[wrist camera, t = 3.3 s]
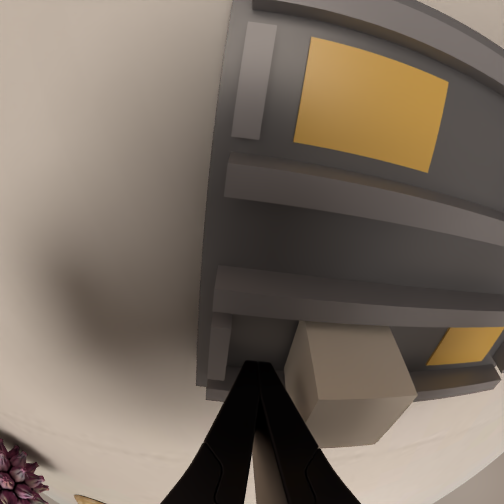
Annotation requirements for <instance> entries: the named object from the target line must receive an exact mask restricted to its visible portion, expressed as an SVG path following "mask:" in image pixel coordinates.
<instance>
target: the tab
mask: <svg viewBox="0 0 504 504" xmlns="http://www.w3.org/2000/svg"><path fill="white" fill-rule="evenodd" d="M284 375H285V387H286V390H287V392H288V394H289V396H290V397H291V399H292V401H293V403H294V404H295V406H296V408H297V410H298V411H299V413H300V415H301V417H302V418H303V420H304V422H305V424H306V425H307V427H308V429H309V430H310V432H311V434H312V436H313V437H314V439H315V441H316V442H317V444H318V446H319V447H318V448H336V447H351V446H362V445H372V444H375V443H376V442H377V441H378V440H379V439H380V438H381V437H382V436H383V435H384V434H385V433H386V432H387V431H388V430H389V428H390V427H391V426H392V425H393V424H394V423H395V422H396V421H397V419H398V418H399V417H400V416H401V415H402V414H403V413H404V411H405V410H406V409H407V408H408V407H409V405H410V404H411V403H412V402H413V400H414V399H415V398H416V397H417V396H418V394H417V392H416V389H415V387H414V384H413V382H412V379H411V377H410V374H409V372H408V369H407V367H406V364H405V362H404V360H403V357H402V355H401V353H400V350H399V348H398V346H397V343H396V341H395V339H394V337H393V334H392V332H391V330H390V328H389V326H376V325H357V324H340V323H325V322H312V321H300V320H299V324H298V327H297V330H296V333H295V336H294V339H293V342H292V345H291V348H290V352H289V355H288V358H287V361H286V363H285V366H284Z"/></svg>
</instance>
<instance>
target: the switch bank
mask: <svg viewBox="0 0 504 504" xmlns="http://www.w3.org/2000/svg"><path fill="white" fill-rule="evenodd" d="M299 320H300V321H312V322H325V323H340V324H357V325H376V326H389V328H390V330H391V332H392V334H393V337H394V339H395V341H396V343H397V346H398V348H399V350H400V353H401V355H402V357H403V360H404V362H405V364H406V367H407V369H408V372H409V374H410V377H411V379H412V382H413V384H414V387H415V389H416V392H417V394H418V396H417V397H416V398H415V399H414V400H413V402H417V401H426V400H434V399H441V398H448V397H454V396H460V395H466V394H471V393H477V392H482V391H487V390H491V389H494V388H495V386H496V385H497V384H498V383H499V382H500V380H501V378H500V376H499V375H498V373H497V371H496V369H495V368H494V367H495V366H496V365H497V367H498V368H499V370H500V372H501V373H504V49H503V48H501V47H500V46H498V45H497V44H495V43H494V42H492V41H491V40H489V39H487V38H486V37H484V36H483V35H481V34H479V33H478V32H476V31H474V30H473V29H471V28H469V27H468V26H466V25H464V24H462V23H461V22H459V21H457V20H455V19H453V18H451V17H449V16H447V15H445V14H444V13H442V12H440V11H438V10H435V9H433V8H431V7H429V6H427V5H425V4H423V3H420V2H418V1H416V0H233V2H232V8H231V14H230V20H229V26H228V32H227V38H226V45H225V51H224V58H223V65H222V72H221V79H220V86H219V94H218V101H217V109H216V117H215V125H214V134H213V143H212V152H211V161H210V171H209V181H208V191H207V202H206V213H205V225H204V238H203V251H202V266H201V281H200V299H199V318H198V341H197V370H196V386H203V387H207V388H206V400H212V401H221V402H224V401H225V399H226V397H227V395H228V393H229V391H230V389H231V387H232V385H233V383H234V381H235V379H236V377H237V375H238V373H239V371H240V369H241V367H242V365H243V363H244V361H245V360H254V361H265V362H270V363H271V364H272V365H273V367H274V369H275V371H276V373H277V374H278V376H279V378H280V380H281V382H282V383H283V385H284V387H285V375H284V366H285V363H286V361H287V358H288V355H289V352H290V348H291V345H292V342H293V339H294V336H295V333H296V330H297V327H298V324H299ZM285 389H286V387H285Z"/></svg>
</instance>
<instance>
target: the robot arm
mask: <svg viewBox="0 0 504 504" xmlns="http://www.w3.org/2000/svg"><path fill="white" fill-rule="evenodd" d="M318 447H319V446H318V444H317V442H316V441H315V439H314V437H313V436H312V434H311V432H310V430H309V429H308V427H307V425H306V424H305V422H304V420H303V418H302V417H301V415H300V413H299V411H298V410H297V408H296V406H295V404H294V403H293V401H292V399H291V397H290V396H289V394H288V392H287V390H286V389H285V387H284V385H283V383H282V382H281V380H280V378H279V376H278V374H277V373H276V371H275V369H274V367H273V365H272V364H271V363H270V362H265V361H254V360H245V361H244V363H243V365H242V367H241V369H240V371H239V373H238V375H237V377H236V379H235V381H234V383H233V385H232V387H231V389H230V391H229V393H228V395H227V397H226V399H225V401H224V403H223V405H222V407H221V409H220V411H219V413H218V415H217V417H216V419H215V421H214V423H213V425H212V426H211V428H210V430H209V432H208V434H207V436H206V438H205V440H204V443H202V445H201V447H200V449H199V451H198V453H197V454H196V456H195V458H194V459H193V461H192V463H191V464H190V466H189V467H188V469H187V470H186V472H185V473H184V474H183V476H182V477H181V478H180V480H179V481H178V482H177V484H176V485H175V486H174V487H173V489H172V490H171V491H170V492H169V494H168V495H167V496H166V497H165V498H164V500H163V501H162V502H161V503H160V504H244V500H245V494H246V487H247V481H248V475H249V469H250V462H251V456H253V468H254V480H255V492H256V503H257V504H361V503H360V502H359V501H358V500H357V498H356V497H355V496H354V495H353V494H352V492H351V491H350V490H349V489H348V488H347V486H346V485H345V484H344V483H343V481H342V480H341V479H340V477H339V476H338V475H337V474H336V472H335V471H334V470H333V468H332V467H331V465H330V463H329V462H328V460H327V459H326V457H325V456H324V454H323V452H322V451H321V449H320V448H318Z"/></svg>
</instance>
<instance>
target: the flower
mask: <svg viewBox="0 0 504 504" xmlns="http://www.w3.org/2000/svg"><path fill="white" fill-rule="evenodd" d="M26 456H27V454H26V452H24V451H22V452H21V453H20V454H19V447H18V446H16V445H15V446H14V448H13V449H12V450H10V451H9V452H8V451H7V449H6V447H5V446H4V444H3V440H2V439H0V504H48V502H46V501H44V500H43V499H42V498H41V497H40V495H39V493H41V492H43V491H46V490H49V488H48V487H49V486H47V485H43V484H42V483H41V482H44V481H45V480H44V477H43V476H38V475H35V474H34V471H35V470H36V468H37V467H38V466H39V465H38V464H37V462H35V463H26Z"/></svg>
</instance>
